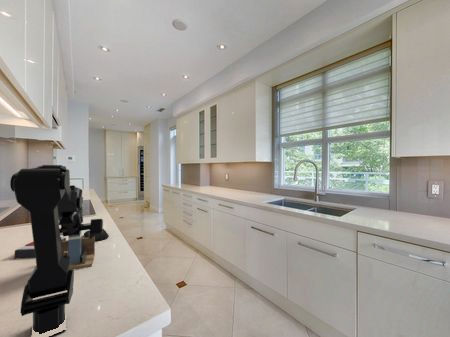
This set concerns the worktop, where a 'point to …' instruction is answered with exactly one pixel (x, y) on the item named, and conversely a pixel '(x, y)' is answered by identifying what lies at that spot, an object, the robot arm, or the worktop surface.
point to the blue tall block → (74, 248)
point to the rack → (82, 252)
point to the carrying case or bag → (99, 237)
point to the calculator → (28, 250)
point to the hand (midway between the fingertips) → (75, 240)
